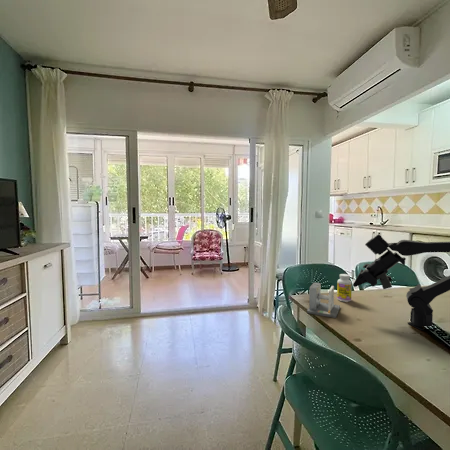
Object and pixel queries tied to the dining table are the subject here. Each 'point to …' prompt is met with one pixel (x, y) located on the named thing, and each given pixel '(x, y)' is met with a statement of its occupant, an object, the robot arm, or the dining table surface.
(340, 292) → the supplement bottle
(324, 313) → the base
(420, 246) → the robot arm
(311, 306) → the anvil block
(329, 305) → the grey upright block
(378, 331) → the dining table surface
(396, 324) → the dining table surface
